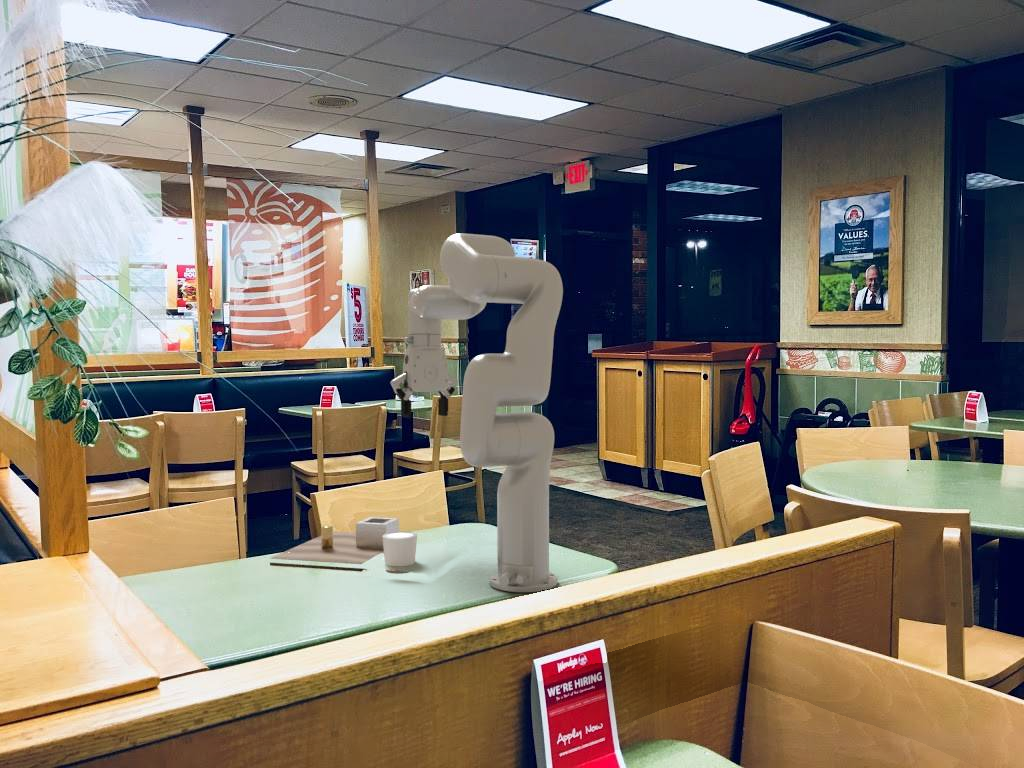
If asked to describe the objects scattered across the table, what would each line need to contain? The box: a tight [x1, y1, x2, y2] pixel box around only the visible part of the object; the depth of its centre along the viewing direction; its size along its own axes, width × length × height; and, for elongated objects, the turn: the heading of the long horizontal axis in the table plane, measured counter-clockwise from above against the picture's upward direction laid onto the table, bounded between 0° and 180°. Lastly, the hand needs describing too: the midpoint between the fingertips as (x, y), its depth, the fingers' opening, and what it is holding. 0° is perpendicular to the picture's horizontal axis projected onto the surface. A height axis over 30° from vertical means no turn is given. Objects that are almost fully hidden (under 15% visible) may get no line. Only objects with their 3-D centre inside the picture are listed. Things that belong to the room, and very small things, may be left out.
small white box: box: [355, 516, 400, 548], centre depth 172 cm, size 7×7×5 cm
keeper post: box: [320, 525, 334, 549], centre depth 169 cm, size 2×2×4 cm
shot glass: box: [382, 531, 418, 575], centre depth 156 cm, size 7×7×7 cm
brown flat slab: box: [269, 531, 384, 572], centre depth 170 cm, size 26×20×2 cm
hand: (425, 416), depth 183 cm, fingers open, 9 cm apart
